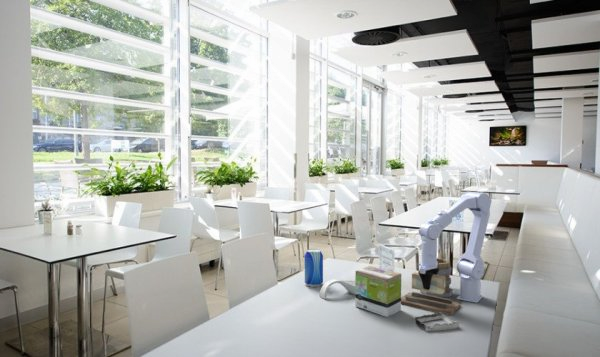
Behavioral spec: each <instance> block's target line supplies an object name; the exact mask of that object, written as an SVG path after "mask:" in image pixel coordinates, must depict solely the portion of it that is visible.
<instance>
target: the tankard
mask: <svg viewBox="0 0 600 357" xmlns="http://www.w3.org/2000/svg"><path fill="white" fill-rule="evenodd" d="M437 261H438V266H437V268H439V272H438V273H437V275H439V276H445V292H444V293H443V294H437V293H432V292H427V291H422V290H419V293H422V294H426V295H431V296H436V297H441V298H449V297H451V296H452V295H453V293H454V292H453V291H454V290H453V289H452V288H450V285H451V284H452V278H451V277H450V275H451V273H452V267H451V261H450V260H448V259H445V258H444V253H443V252H439V253H438V257H437Z"/></svg>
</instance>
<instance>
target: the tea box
mask: <svg viewBox="0 0 600 357" xmlns="http://www.w3.org/2000/svg"><path fill="white" fill-rule="evenodd" d="M354 277H355V294H354V295H355V296H354V298H355V299H354V300H355V304H354V305H355V308H360V309H363V310H366V311H368V312H372V313H374V314H377V315H380V316H383V317H386V318H388V317H391V316H392V315H394V314H396V313H398V312H400V311H401V310H402V304H401V298H402V273H401V272H396V271H391V270H388V269H383V268H380V267H376V266H371V265H368V266H366V267H363V268H360V269H357V270H355V276H354Z"/></svg>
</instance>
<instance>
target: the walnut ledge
mask: <svg viewBox="0 0 600 357" xmlns="http://www.w3.org/2000/svg"><path fill="white" fill-rule="evenodd" d="M401 305H403V306H408V307H410V308H412V307H413V308H416V309H421V310H425V311H430V312H434V313H438V312H442V314H443V315H445V316H446V315H447V316H452V315H453V314H454V313H455V312H456V311H457V310H458V309H460V307H461V302H458V301H457V302H456V301H453V299H450V298H447V297H436V296H431V295H426V294H423V293H422V292H415V291H411V292H408V293H406V294H405V295H403V296H401Z"/></svg>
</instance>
